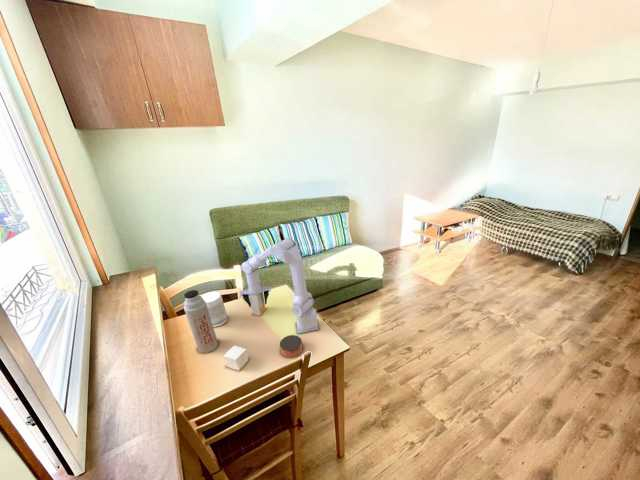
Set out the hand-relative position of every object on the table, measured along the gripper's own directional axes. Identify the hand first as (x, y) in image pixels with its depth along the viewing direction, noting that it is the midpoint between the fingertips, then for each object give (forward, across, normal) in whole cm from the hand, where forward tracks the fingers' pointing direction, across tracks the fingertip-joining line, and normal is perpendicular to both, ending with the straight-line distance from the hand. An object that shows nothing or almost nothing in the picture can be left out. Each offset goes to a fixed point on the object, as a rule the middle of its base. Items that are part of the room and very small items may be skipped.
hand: (258, 304), depth 142 cm
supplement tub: (+4, +20, +2) cm, 21 cm away
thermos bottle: (+4, +22, +19) cm, 29 cm away
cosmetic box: (+4, 0, 0) cm, 4 cm away
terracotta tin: (+4, -13, +32) cm, 35 cm away
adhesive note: (+4, +9, +33) cm, 34 cm away
